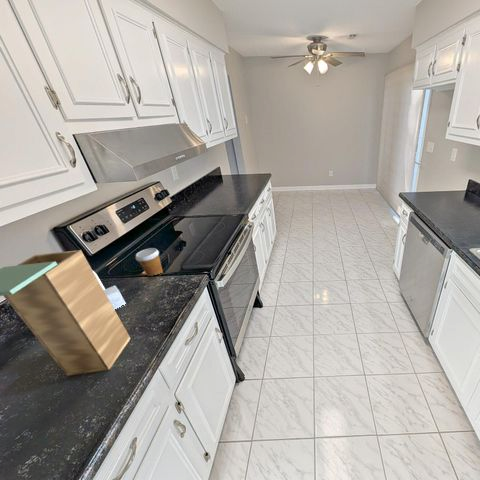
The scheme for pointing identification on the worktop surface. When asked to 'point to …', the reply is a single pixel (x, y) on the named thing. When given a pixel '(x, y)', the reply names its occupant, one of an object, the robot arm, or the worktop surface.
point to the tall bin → (71, 314)
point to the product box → (114, 297)
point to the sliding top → (21, 276)
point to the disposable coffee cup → (150, 261)
